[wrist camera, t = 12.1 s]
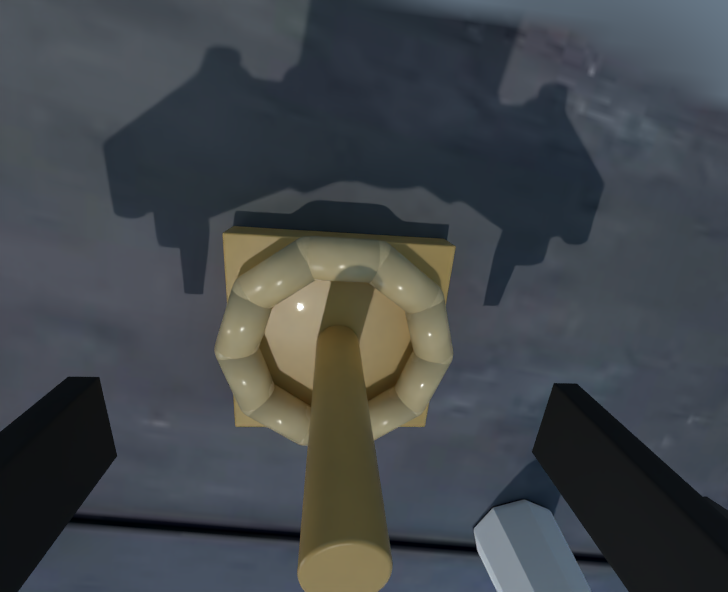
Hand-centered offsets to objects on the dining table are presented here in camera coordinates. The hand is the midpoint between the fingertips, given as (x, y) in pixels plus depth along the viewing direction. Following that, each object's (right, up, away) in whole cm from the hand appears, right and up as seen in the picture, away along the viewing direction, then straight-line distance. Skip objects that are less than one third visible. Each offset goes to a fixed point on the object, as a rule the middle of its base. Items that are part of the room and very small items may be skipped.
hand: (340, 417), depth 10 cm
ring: (0, +1, +4) cm, 4 cm away
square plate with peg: (-1, +2, +6) cm, 6 cm away
